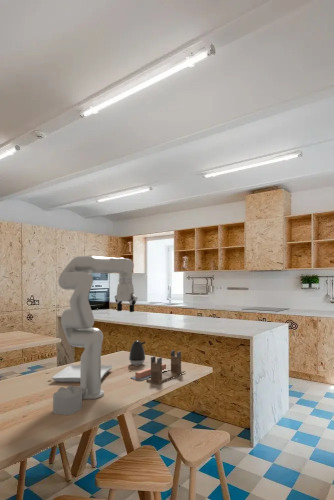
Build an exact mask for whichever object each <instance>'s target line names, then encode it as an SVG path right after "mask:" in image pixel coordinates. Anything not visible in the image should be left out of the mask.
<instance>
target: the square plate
mask: <svg viewBox="0 0 334 500" xmlns="http://www.w3.org/2000/svg"><path fill="white" fill-rule="evenodd" d="M113 367H114V365H111V364H110V365H109V364H101V379H103V377H104V376H105V375H106V374H107V373H108V372H110V370H111V371H112V369H113ZM80 369H81V364H72V365H71V364H70V365H68V366H67V367H65V368H63V369H62V370H60V371H59V372H57V373H56V374H55V375H53V376H52V377H51V379H52V380H53V381H56V382H63V383H80Z"/></svg>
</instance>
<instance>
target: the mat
mask: <svg viewBox="0 0 334 500" xmlns="http://www.w3.org/2000/svg"><path fill="white" fill-rule="evenodd" d="M149 377H151V375H149V376H146V377H143V378H141V379H138V378H135V375H134V376H131V377H130V378H132V379H131V380H134V379H136V380H135V381H139V380H140V381H139V382H142V381H141V380H143V381H145V380H147V378H148V379H149ZM144 379H145V380H144Z"/></svg>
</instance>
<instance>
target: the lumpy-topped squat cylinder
mask: <svg viewBox="0 0 334 500" xmlns="http://www.w3.org/2000/svg"><path fill="white" fill-rule="evenodd" d="M52 400H53V401H52V414H54V415H65V416H69V415H73V414H75V413H77V412H79V411H80V410H81V409H82V408H83V399H82V389H81V388H80V386H78V385H74V386H73V385H68V386H67V387H63V386H60V387H59V388H58V389H57V391H56V392H54V393H53V394H52Z"/></svg>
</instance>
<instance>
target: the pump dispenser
mask: <svg viewBox="0 0 334 500" xmlns="http://www.w3.org/2000/svg"><path fill="white" fill-rule="evenodd" d="M145 344H146V341H143V342H141V341H140V340H134V341H133V343H132V345H131V347H130V351H129V356H128V360H129V362H130V364H132V366H135V365H139V366H142V365H143V364H144V363H145V360H146V353H145V348H144V345H145ZM141 364H142V365H141Z"/></svg>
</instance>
